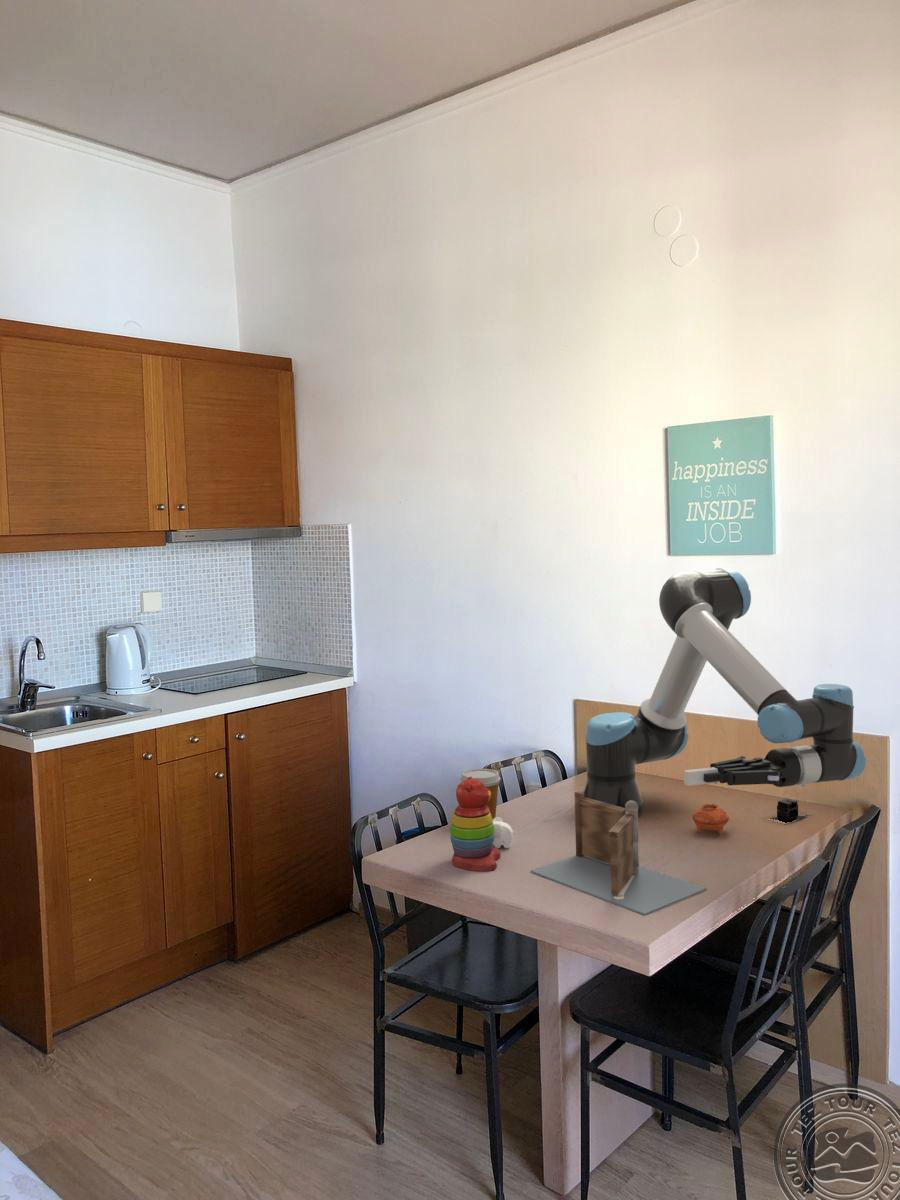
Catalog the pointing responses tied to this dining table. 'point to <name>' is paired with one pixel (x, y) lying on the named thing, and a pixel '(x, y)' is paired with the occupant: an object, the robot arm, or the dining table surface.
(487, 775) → the disposable coffee cup
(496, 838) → the elephant figurine
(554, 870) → the card
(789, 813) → the black box
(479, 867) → the stacking bear
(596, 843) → the fixed fence
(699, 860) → the dining table surface
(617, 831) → the hinged fence panel
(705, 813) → the pot
